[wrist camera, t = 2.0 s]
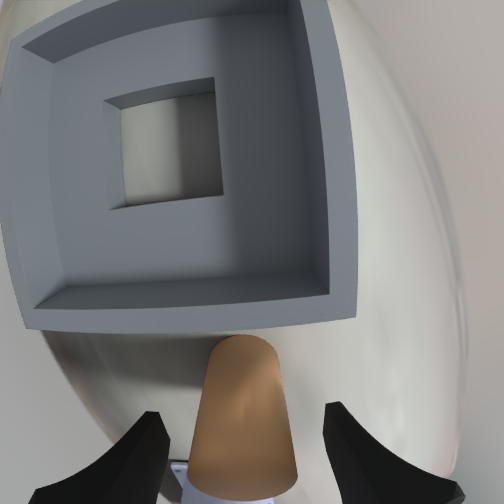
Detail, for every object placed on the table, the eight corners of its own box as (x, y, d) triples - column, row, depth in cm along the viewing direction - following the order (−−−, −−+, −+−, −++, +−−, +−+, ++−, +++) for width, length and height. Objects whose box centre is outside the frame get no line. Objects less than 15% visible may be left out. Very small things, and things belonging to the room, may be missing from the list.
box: (322, 274, 14) (355, 317, 10) (75, 292, 14) (26, 328, 10) (297, 18, 11) (315, -37, 6) (60, 65, 11) (11, 40, 6)
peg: (279, 387, 16) (296, 497, 8) (214, 391, 16) (199, 500, 8) (277, 331, 15) (298, 447, 7) (203, 336, 15) (174, 451, 7)
